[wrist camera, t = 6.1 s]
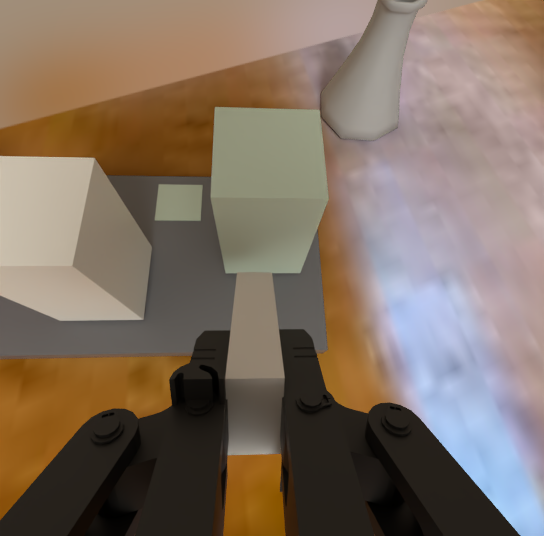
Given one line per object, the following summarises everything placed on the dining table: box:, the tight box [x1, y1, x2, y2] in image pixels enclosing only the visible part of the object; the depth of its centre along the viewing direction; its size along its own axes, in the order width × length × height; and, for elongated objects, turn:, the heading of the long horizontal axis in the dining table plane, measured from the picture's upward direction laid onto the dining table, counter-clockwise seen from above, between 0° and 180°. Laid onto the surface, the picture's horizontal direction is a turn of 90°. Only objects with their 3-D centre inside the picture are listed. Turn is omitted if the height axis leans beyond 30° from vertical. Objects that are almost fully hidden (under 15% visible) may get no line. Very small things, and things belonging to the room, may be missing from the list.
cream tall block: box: [0, 156, 152, 321], centre depth 18 cm, size 5×5×9 cm
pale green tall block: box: [210, 107, 329, 273], centre depth 19 cm, size 5×5×9 cm
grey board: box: [0, 175, 328, 359], centre depth 23 cm, size 28×13×2 cm, turn 91°
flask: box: [321, 0, 427, 141], centre depth 26 cm, size 7×7×10 cm
